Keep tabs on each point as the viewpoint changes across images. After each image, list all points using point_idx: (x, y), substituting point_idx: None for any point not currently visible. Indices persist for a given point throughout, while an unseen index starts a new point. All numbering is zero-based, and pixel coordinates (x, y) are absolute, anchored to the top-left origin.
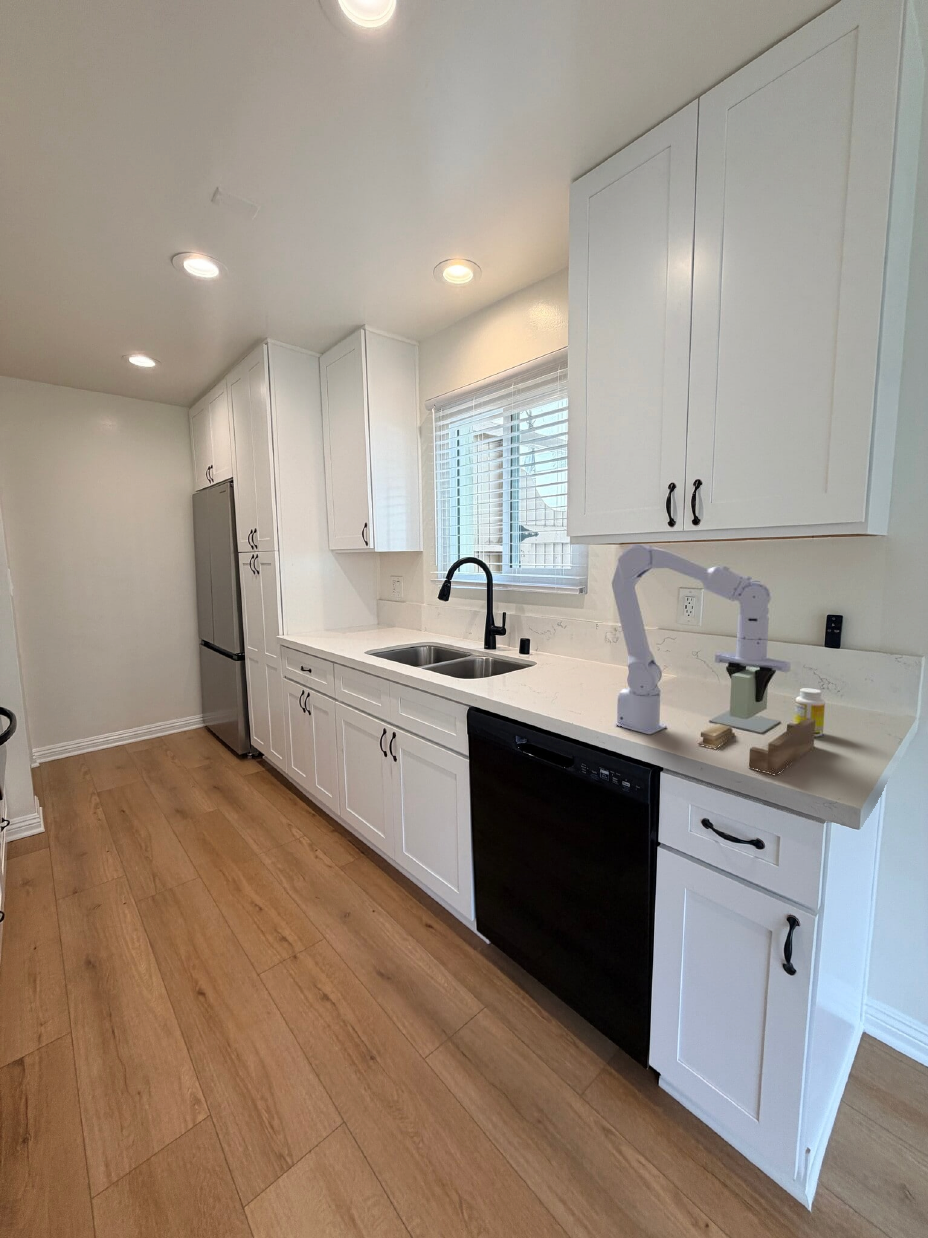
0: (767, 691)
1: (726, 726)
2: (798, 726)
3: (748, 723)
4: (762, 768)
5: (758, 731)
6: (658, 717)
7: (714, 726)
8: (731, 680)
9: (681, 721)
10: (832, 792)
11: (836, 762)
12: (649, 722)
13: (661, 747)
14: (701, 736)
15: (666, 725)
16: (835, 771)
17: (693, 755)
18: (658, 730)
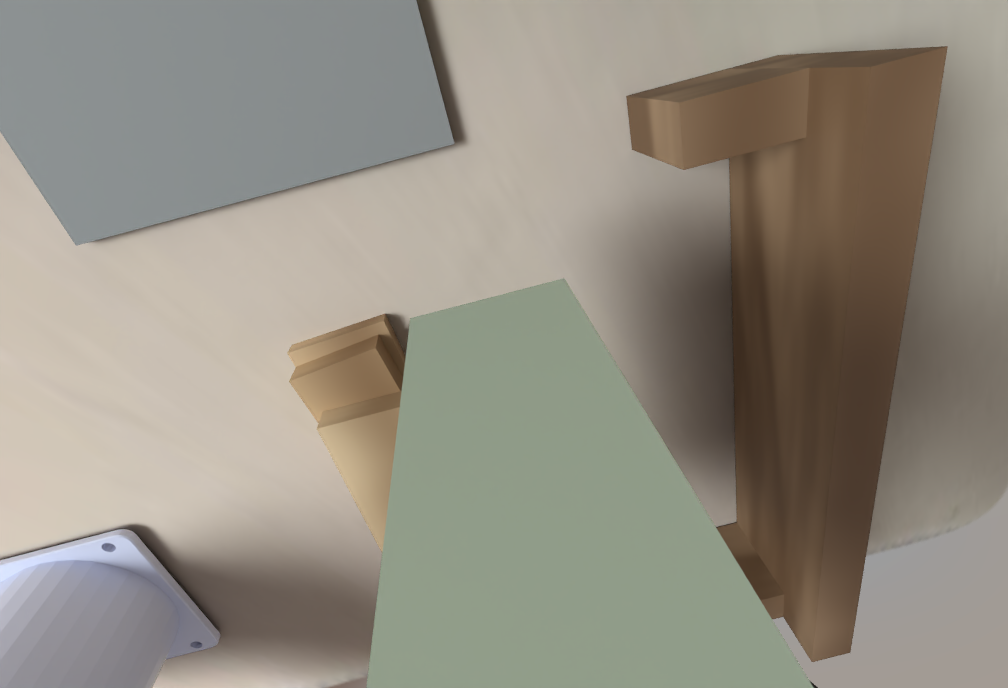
0: (624, 378)
1: (387, 426)
2: (866, 370)
3: (243, 15)
4: None
5: (430, 146)
6: (132, 652)
7: (355, 479)
8: None
9: (24, 388)
10: (936, 492)
11: (923, 213)
12: (158, 671)
13: (367, 660)
14: None
15: (130, 542)
16: (929, 325)
17: None
18: (182, 592)
